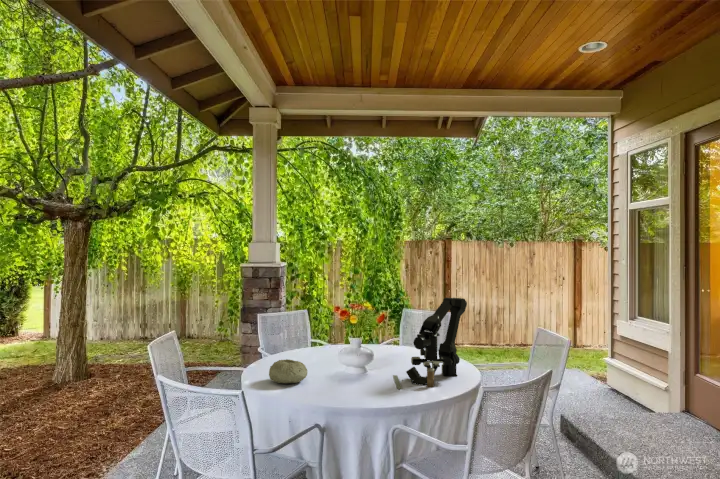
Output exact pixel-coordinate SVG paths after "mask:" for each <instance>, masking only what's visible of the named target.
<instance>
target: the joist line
mask: <svg viewBox="0 0 720 479" xmlns="http://www.w3.org/2000/svg"><path fill="white" fill-rule="evenodd" d="M392 376H393V379H394V382H395V385H396V388H397V390H402V389H403V387H402V385H401V382H400V379H399V377H398V375H397V374H393V375H392Z"/></svg>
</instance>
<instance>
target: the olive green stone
mask: <svg viewBox="0 0 720 479" xmlns="http://www.w3.org/2000/svg"><path fill="white" fill-rule="evenodd" d="M308 372H309V371H308V368H307V366H306V365H305V364H304V363H303V362H301V361H299V360H294V359H287V358H286V359H279V360H276V361H275V362H273V364H272V365H271V366H270V367H269V371H268V377H269V379H270V381H272V382H274V383H278V384H296V383H299V382H300V383H301V382H302V381H303V380H305V379H306V378H307V376H308Z"/></svg>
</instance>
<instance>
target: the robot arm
mask: <svg viewBox="0 0 720 479" xmlns="http://www.w3.org/2000/svg"><path fill="white" fill-rule="evenodd" d="M467 306H468V302H467V300H466V299H465V298H462V297H444V298H443V300H442V302H441V304H440V305H439V306H438V308H436V310H435V312H434V313H433V314H432V315H429V316H427V318H426V319H424V320H423V322H422V325H421V327H420V330H419V332H418V333H417V335H416V337H415V338H414V339H413V346H414V348H416V349H417V350H420V352H419V353H420V356H411V358H410V359H411V360H410V362H411V365H412V366H421V364H422V365H423V367H424V368H426V369H427V368H434V375H435V374H436V371H437V369H438V368H440V366H441V374H442V375H443V376H444V377H458V374H457V365H458V364H459V363H460V360H461V358H460V357H459V355H458V354H457V347H456V339H457V335H458V330H459V324H460V320H461V317H462V315H463V314H464V313H465V311H466V308H467ZM448 312H449V313H450V316H449V322H448V326H447V330H446V335H445V339H444V341H443V342H442V343H440V344H439V348H438V337H440V333H439V331H440V329H441V327H442V321H443V320H444V318H445V317H446V316H447V314H448ZM421 356H423V358H421ZM440 364H441V365H440Z"/></svg>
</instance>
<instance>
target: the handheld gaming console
mask: <svg viewBox="0 0 720 479" xmlns="http://www.w3.org/2000/svg"><path fill="white" fill-rule="evenodd" d="M405 372H406V374H407V375H408V377H409V379H410V380H411V383H412V384H414V385H419V384H420V385H419V386H425V385H427V384H426V383H427V376H422V375H421V374H420V372H419V371H418V370H417V368H416V367H415V366H412V367H411V368H410V369H408V370H406V371H405Z"/></svg>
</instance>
